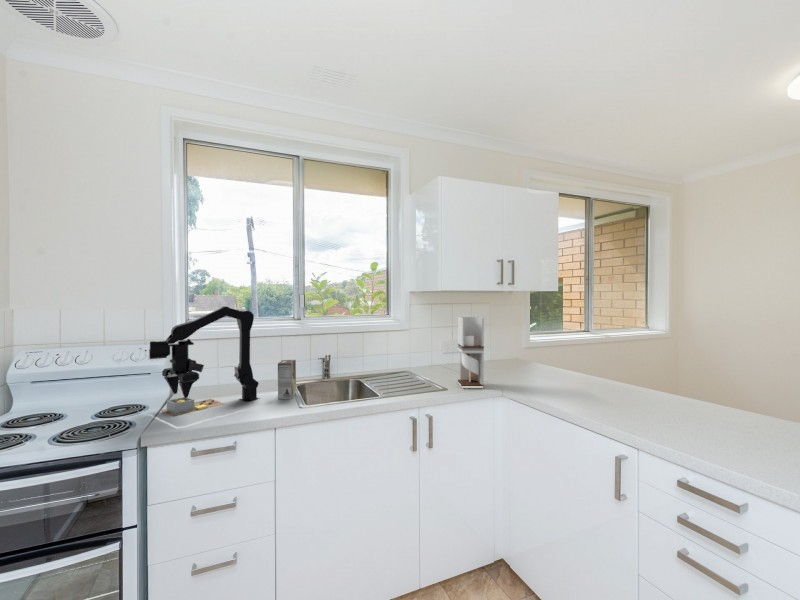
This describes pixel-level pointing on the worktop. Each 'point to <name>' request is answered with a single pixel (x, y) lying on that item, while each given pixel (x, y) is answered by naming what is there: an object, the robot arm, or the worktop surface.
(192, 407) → the grey open box
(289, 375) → the coffee box
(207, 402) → the rack board
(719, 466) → the worktop surface
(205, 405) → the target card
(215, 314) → the robot arm
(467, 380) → the display case
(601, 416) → the worktop surface
